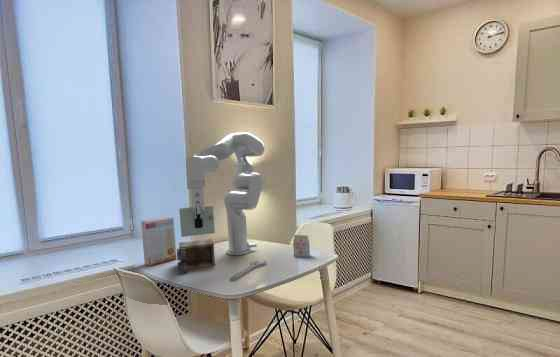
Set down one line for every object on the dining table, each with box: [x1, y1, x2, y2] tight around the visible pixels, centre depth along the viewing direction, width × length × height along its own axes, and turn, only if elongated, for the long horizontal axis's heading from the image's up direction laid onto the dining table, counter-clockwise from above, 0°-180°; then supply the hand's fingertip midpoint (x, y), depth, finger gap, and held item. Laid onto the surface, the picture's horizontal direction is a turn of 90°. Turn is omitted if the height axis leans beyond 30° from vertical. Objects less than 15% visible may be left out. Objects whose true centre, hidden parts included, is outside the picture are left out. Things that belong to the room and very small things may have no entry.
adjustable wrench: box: [229, 259, 267, 282], centre depth 145 cm, size 25×6×2 cm, turn 150°
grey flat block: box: [178, 204, 216, 238], centre depth 148 cm, size 14×4×12 cm, turn 107°
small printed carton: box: [293, 234, 311, 258], centre depth 164 cm, size 4×7×10 cm, turn 63°
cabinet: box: [176, 238, 216, 275], centre depth 154 cm, size 16×16×10 cm
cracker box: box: [140, 216, 177, 267], centre depth 164 cm, size 14×6×21 cm, turn 135°
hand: (198, 226), depth 148 cm, fingers closed on grey flat block, 2 cm apart
